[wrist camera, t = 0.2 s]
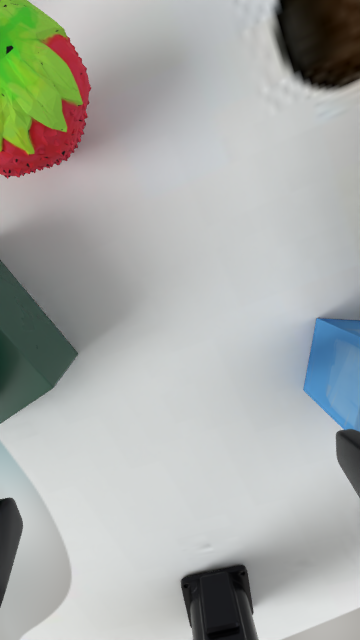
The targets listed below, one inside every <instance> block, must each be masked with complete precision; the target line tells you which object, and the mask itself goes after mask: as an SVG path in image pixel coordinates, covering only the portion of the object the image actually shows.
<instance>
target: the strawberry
mask: <svg viewBox="0 0 360 640" xmlns="http://www.w3.org/2000/svg"><path fill="white" fill-rule="evenodd" d="M86 70H87V68H86V67H85V66H84V65H83V64H82V59H81V58H80V57H78V53H77V52H76V51H75V47H74V46H73V45H72V44H71V43H70V38H69V37H67V35H66V33H65V31H64V29H63V28H62V27H61V26H60V25H59V24H58V23H57V22H56V21H54V20H53V19H52V18H50V17H49V16H48V15H46V14H45V13H44V12H42V11H41V10H40V9H38V8H37V7H36V6H34V5H33V4H31V3H30V2H28V1H27V0H0V174H1V175H4V176H5V177H6V178H8V177H10V176H17V177H20V175H23V176H24V174H25V173H28V174H30V172H34V173H35V172H36V169H38V170H40V171H41V169H42V170H43V167H47V168H50V167H52V166H53V164H57V165H60V163H61V161H62V160H65V161H67V158H69V157H70V154H71V153H73V152H74V149H75V148H78V146H77V143H78V142H80V141H81V139H80V137H81V135H82V134H84V133H83V129H84V126H85V125H86V123H85V120H84V119H85V118H87V117H88V116H87V113H86V107H87V105H88V104H89V101H88V96H89V91H90V90H91V87H90V84H89V80H88V75H87V73H86Z"/></svg>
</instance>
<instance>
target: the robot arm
mask: <svg viewBox="0 0 360 640" xmlns="http://www.w3.org/2000/svg"><path fill="white" fill-rule="evenodd" d="M336 452H337V459H338V462H339V464H340V466H341V468H342V470H343V471H344V473H345V474H346V476H347V478H348V479H349V481H350V483H351V484H352V486H353V488H354V489H355V491H356V493H357V494H358V496H359V498H360V432H359V431H357V430H354V429H346V430H341V431H338V432H337V433H336ZM22 529H23V521H22V518H21V515H20V513H19V510H18V508H17V505H16V503H15V501H14V499H13V498H5V499H0V606H1V604H2V601H3V598H4V594H5V591H6V588H7V584H8V581H9V577H10V573H11V570H12V566H13V562H14V559H15V555H16V552H17V548H18V545H19V541H20V537H21V534H22ZM181 588H182V592H183V596H184V601H185V605H186V609H187V614H188V618H189V622H190V626H191V628H192V633H193V640H258V636H257V632H256V628H255V625H254V621H253V617H252V615H253V607H252V600H251V593H250V586H249V580H248V573H247V569H246V567H245V566H243V565H241V566H236V567H231V568H227V569H222V570H218V571H213V572H208V573H204V574H199V575H194V576H190V577H185V578H183V579H182V580H181Z"/></svg>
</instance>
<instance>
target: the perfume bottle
mask: <svg viewBox="0 0 360 640" xmlns="http://www.w3.org/2000/svg"><path fill="white" fill-rule="evenodd" d="M304 391H305V392H306V393H307V394H308V395H309V396H310V397H311V398H312V399H313V400H314V401H315V402H316V403H317V404H318V405H319V406H320V407H321V408H322V409H323V410H324V411H325V412H326V413H327V414H329V415H330V416H331V417H332V418H333V419H334V420H335V421H336V422H337V423H338V424H339V425H340V426H341V427H342V428H343V429H344V430H346V429H354V430H357V431H359V432H360V320H341V319H321V318H317V319H316V325H315V330H314V336H313V341H312V346H311V352H310V357H309V363H308V368H307V374H306V379H305V384H304Z"/></svg>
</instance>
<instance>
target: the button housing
mask: <svg viewBox="0 0 360 640" xmlns="http://www.w3.org/2000/svg"><path fill="white" fill-rule="evenodd" d="M77 355H78V353H77V352H76V350H75V349H74V348H73V347H72V346H71V344H70V343H69V342H68V341H67V340H66V338H65V337H64V336H63V335H62V334H61V332H60V331H59V330H58V329H57V328H56V326H55V325H54V324H53V323H52V322H51V320H50V319H49V318H48V317H47V316H46V314H45V313H44V312H43V311H42V310H41V308H40V307H39V306H38V305H37V304H36V302H35V301H34V300H33V299H32V298H31V296H30V295H29V294H28V293H27V292H26V290H25V289H24V288H23V287H22V286H21V284H20V283H19V282H18V281H17V280H16V278H15V277H14V276H13V275H12V274H11V272H10V271H9V270H8V269H7V268H6V266H5V265H4V264H3V263H2V262H1V260H0V424H1V423H2V422H4V421H5V420H7V419H8V418H10V417H11V416H13V415H14V414H15V413H17V412H18V411H20V410H21V409H23V408H24V407H26V406H27V405H29V404H30V403H32V402H33V401H35V400H36V399H38V398H39V397H41V396H42V395H44V394H45V393H47V392H48V391H50V390H51V389H53V388H54V386H55V385H56V384H57V382H58V381H59V380H60V378H61V377H62V376H63V374H64V373H65V371H66V370H67V369H68V367H69V366H70V365H71V363H72V362H73V361H74V359H75V358H76V357H77Z"/></svg>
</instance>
